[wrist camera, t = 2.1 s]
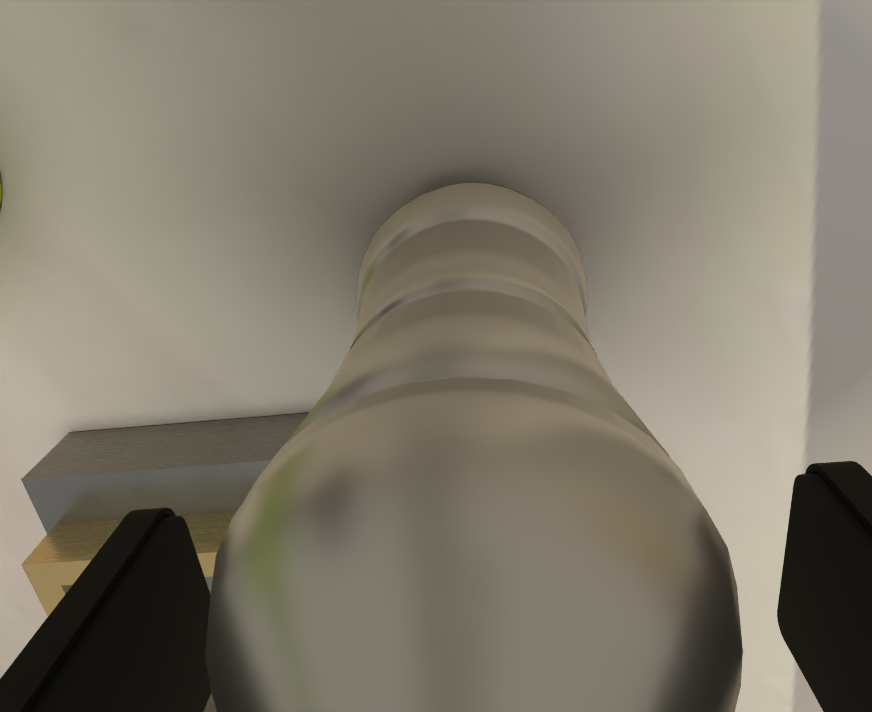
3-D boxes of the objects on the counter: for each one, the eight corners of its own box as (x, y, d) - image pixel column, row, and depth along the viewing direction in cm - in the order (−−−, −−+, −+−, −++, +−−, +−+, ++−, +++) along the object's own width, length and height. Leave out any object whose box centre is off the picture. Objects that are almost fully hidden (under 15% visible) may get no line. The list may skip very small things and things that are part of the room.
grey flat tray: (69, 432, 25) (-19, 517, 20) (374, 407, 24) (353, 491, 19) (185, 708, 32) (139, 817, 27) (427, 697, 31) (420, 809, 26)
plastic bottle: (569, 352, 23) (977, 1546, 5) (377, 358, 23) (62, 1478, 5) (576, 162, 20) (1676, 1305, 2) (358, 173, 20) (-503, 1190, 2)
